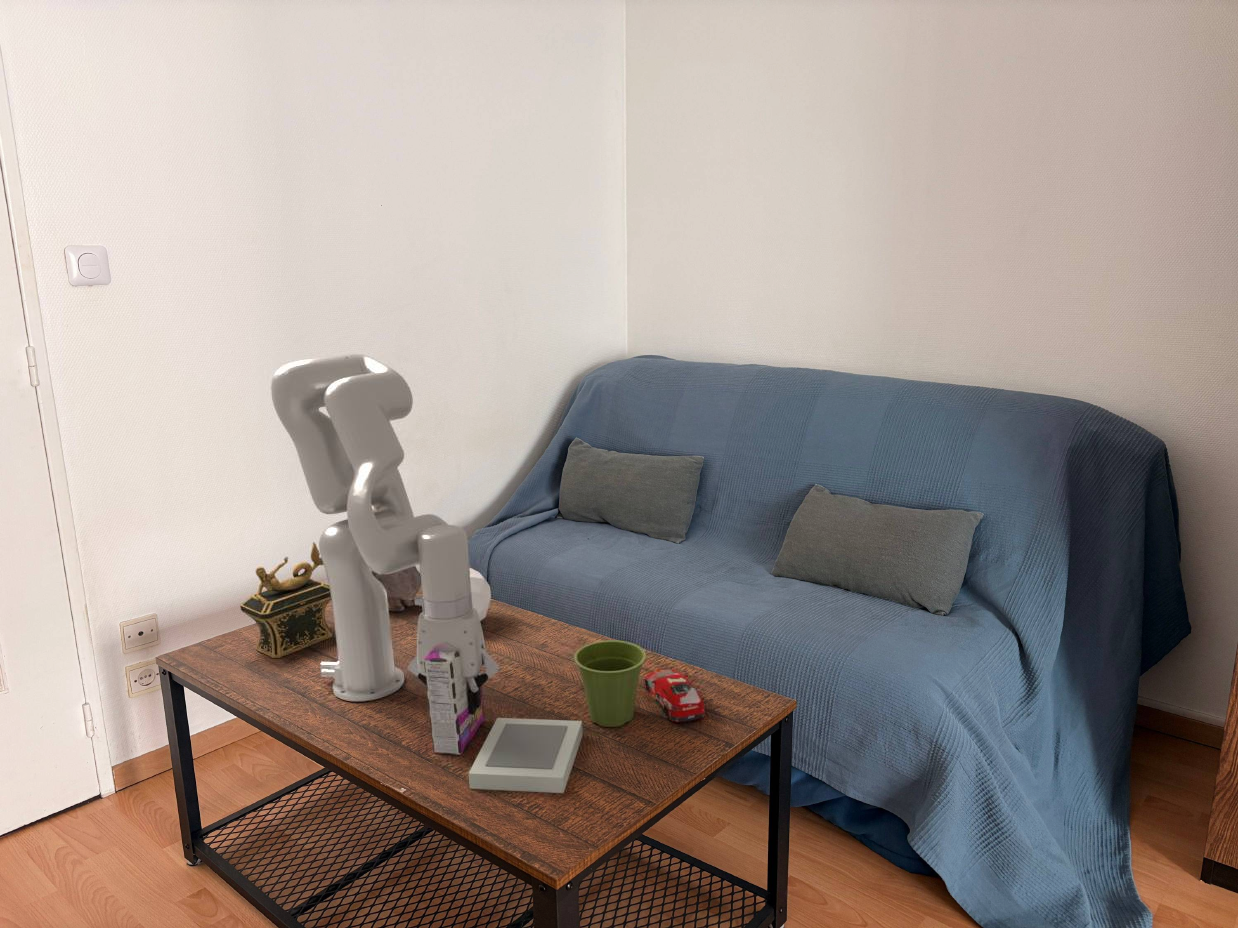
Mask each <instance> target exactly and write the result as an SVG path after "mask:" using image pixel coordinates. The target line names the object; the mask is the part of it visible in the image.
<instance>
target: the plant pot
mask: <svg viewBox="0 0 1238 928" xmlns="http://www.w3.org/2000/svg"><path fill="white" fill-rule="evenodd" d="M573 659H574V660H573V661H574V662H575V664H576V665H577V667H578V671H579V674H580V676H581V679H582V684H583V688H584V694H585V699H586V704H587V708H588V714H589V718H590V721H591V722H592V723H596V724H598V725H599V726H600V727H607V728H617V727H621V726H624V724H625V723H627V722H631V721H632V719H633V717H634V711H635V706H636V705H635V704H636V701H637V700H636V698H637V693H638V692H637V691H638V686H639V680H640V675H641V672H642V667H643V664H644V663H645V662H646V659H647V653H646V651H645V650H644V649H643V648H642V647H641V646H639V645H638V644H636V643H632V642H629V641H624V640H618V639H617V640H598V641H594V642H591V643H587V644H585V645H582V646H581V647H579V648H578V649H577V650H576V651H575V653H574V655H573Z"/></svg>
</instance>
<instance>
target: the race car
mask: <svg viewBox="0 0 1238 928" xmlns="http://www.w3.org/2000/svg"><path fill="white" fill-rule="evenodd" d="M688 677H689V674H681V673H680V672H679V671H677V670H674V669H668V668H667V669H665V668H664V669H658V670H654V671H652V672H649V673H648V674H647V675H646V677H645V679H644V685H645V689H646V691H647V692H648V694H650V696H651V697H652V699H653V700H654V701H655V703H656V704H657V705H658V706H659V708H660V709H661V710H662V712H663V713H664V716H665V717H666V718H667V720H670V721H672V722H675V723H680V722H681V723H685V722H689V721H694V720H698V719H699V720H700V719H702V718H704V717H705V715H706V712H705V710H706V708H705V703H704V700H703V698H702V696H701V695H700V693H698V691H697V690H696V688H695V686H693V684H692V683H691V681H690V680H689V679H688Z"/></svg>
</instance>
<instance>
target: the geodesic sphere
mask: <svg viewBox="0 0 1238 928" xmlns="http://www.w3.org/2000/svg"><path fill="white" fill-rule="evenodd" d="M469 568H470V581H471V594H472V606H473V608H475V609H476V610H477V613H478V616H479V619H480V622H481V621H482V620H484V619H485V618H486V616H487V615H488V614H487V613H488V610H489V608H490V604H491V600H492V594H491V586H490V584H489V583H488V581H487V580H486V579H485V577H484V576H483V574H481V573H480V572H479V571H477V570H475V569H473V568H471V567H470V566H469Z"/></svg>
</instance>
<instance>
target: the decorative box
mask: <svg viewBox="0 0 1238 928" xmlns="http://www.w3.org/2000/svg"><path fill="white" fill-rule="evenodd" d="M311 547H312V548H311V552H310V561H312V562H313V565H311V564H310V563H309V562H307V561H301V562H299V563H297V564H296V565H295V566H294V568H293V569H292V576H293V577H290V578H286V579H284V580H281V582H280V581H279V579H278V578H277V576H275V574H277V572H278V571H279V570H280V569H281V568H283V567H284V566H285V565H286V564H288V560H289V556H286V557H284V558H283V560H284V562H281V563H280V564H278V566H277V565H276V567H275V568H274V569H273V570H271V571H270V572H269V573H267V571H266V569H265V568H264V567H262V566H258V567H256V568H255V574H256V576H257V577H258V579H259V580H260V583H259V585H258V590H257V593H254V594H252V595H251V596H250V597H249V598H247V599H246V600H245V601H244V602H242V603H241V604H240V606H239V607H240V611H242V613H244V614H246V615H247V616H248V617H250V619H252V621H253V620H254V621H255V624H257V627H258V628H259V638H258V639H259V640H258V642H257V645H256V648H255V650H256V651H258V652H260V653H262V654H264V655H267V656H268V657H271V658H273V659H279V658H282V657H286V656H288V655H291V654H294V653H296V652H297V651H300V650H303V649H305V648H308V647H311V646H313V645H316V644H318V643H321V642H323V641H325V640H328V639H331V638H332V637H333V635H334V634H333V632H332V630H331V628H330V627H329V625H328V623H327V621H326V617H325V615H326V614H325V613H326V608H327V605H329V603H330V602H332V601H331V594H330V587H329V584H327V583H324V582H321V581H319V580H317V579H313V578H311V576H312V575H313V572H314V571H315V570H316V569H317V568H318V567H319V566H324V564H323V561H322V558H321V554H320V550H319V549H318V546H317V544H316V542H314V541H313V542H312V546H311ZM302 570H304V571H303V572H302V573H300V572H301V571H302ZM299 573H300V574H299ZM263 588H265V590H263Z"/></svg>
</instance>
